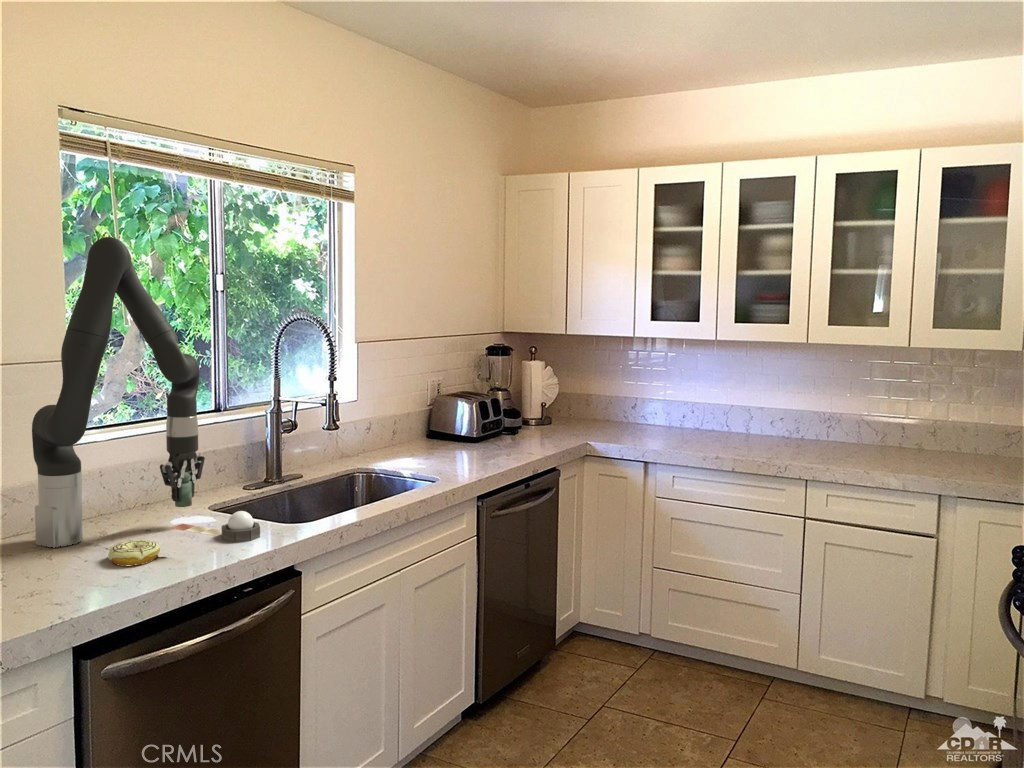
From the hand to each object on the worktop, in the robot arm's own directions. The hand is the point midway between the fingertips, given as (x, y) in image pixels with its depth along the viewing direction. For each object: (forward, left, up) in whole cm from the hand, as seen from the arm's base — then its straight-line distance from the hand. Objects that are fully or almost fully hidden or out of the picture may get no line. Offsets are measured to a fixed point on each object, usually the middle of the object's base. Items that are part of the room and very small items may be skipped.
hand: (183, 498), depth 213 cm
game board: (0, -10, -8) cm, 13 cm away
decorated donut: (-22, -6, -9) cm, 25 cm away
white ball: (0, -18, -7) cm, 20 cm away
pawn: (0, 0, -2) cm, 2 cm away
